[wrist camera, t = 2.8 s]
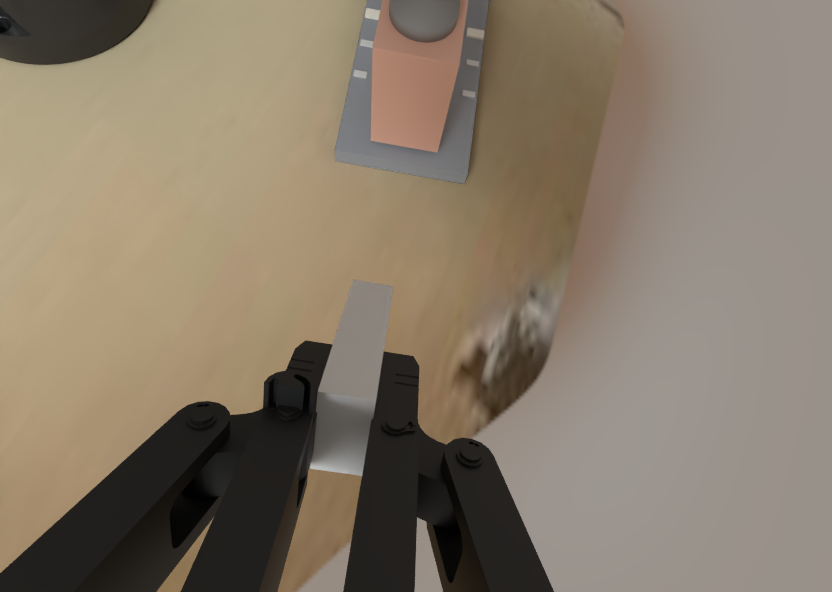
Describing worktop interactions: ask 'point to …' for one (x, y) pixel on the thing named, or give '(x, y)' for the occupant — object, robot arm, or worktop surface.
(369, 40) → the slate track
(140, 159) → the worktop surface
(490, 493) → the robot arm
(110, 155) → the worktop surface
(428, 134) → the terracotta plug block
